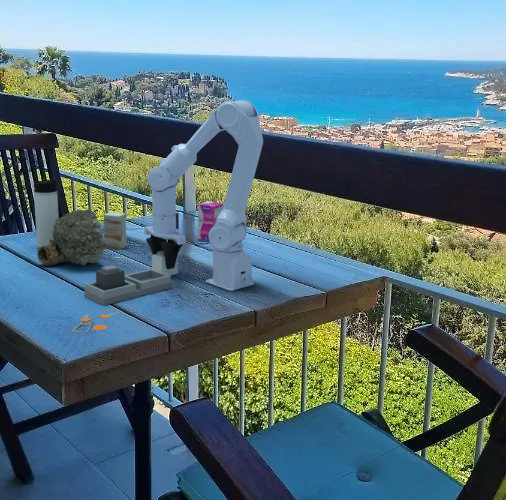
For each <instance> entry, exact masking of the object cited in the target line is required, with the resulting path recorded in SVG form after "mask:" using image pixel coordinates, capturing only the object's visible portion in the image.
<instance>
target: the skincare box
mask: <svg viewBox="0 0 506 500" xmlns="http://www.w3.org/2000/svg"><path fill="white" fill-rule="evenodd" d="M103 239H104V240H105V242H106V248H105V249H109V250H118V251H119V250H122V249H123V248H126V247H127V214H126V213H125V212H116V211H110V212H106V213H105V214H104V213H103Z"/></svg>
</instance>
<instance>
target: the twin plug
mask: <svg viewBox="0 0 506 500" xmlns="http://www.w3.org/2000/svg"><path fill="white" fill-rule="evenodd" d="M125 272H126V271H125V270H124V269H121V268H120V267H119V266H117V265H116V266H115V265H114V264H112V265H108V266H103V267H101V269H100V270H95V280H96V281H95V282H96V287H97V288H100V289H102V290H104V291H105V290H110V289H114V288H118V287H122V286H125V275H126V273H125Z"/></svg>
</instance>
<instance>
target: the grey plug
mask: <svg viewBox="0 0 506 500" xmlns="http://www.w3.org/2000/svg"><path fill="white" fill-rule="evenodd" d="M178 260H179V259H178V256H177V259H176V263H175V267H174V268H172V269H167V268H166V264H165V255H164V251H159V252H157V254H154V255H153V254H151V269H153V270H156V271H159V272H162V273H164V274H167V275H170V276H173V275H177V274H178V273H179V272H178V271H179V270H178V267H179V266H178V264H179V263H178Z"/></svg>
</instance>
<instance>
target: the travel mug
mask: <svg viewBox="0 0 506 500" xmlns="http://www.w3.org/2000/svg"><path fill="white" fill-rule="evenodd" d="M58 182H59V179H58V178H53V179H44V180H38V181H36V182H34V183H33V199H34V216H35V230H36V243H37V244H36V245H37V246H36V247H37V251H38V250H39V247H42V246H48V245H50V244H52V243H51V242H52V236H53V231H52V230H53V229H54V227H53V225H55V223H56V221H55V220H56V219H60V217H59V201H58V187H57V183H58Z"/></svg>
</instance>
